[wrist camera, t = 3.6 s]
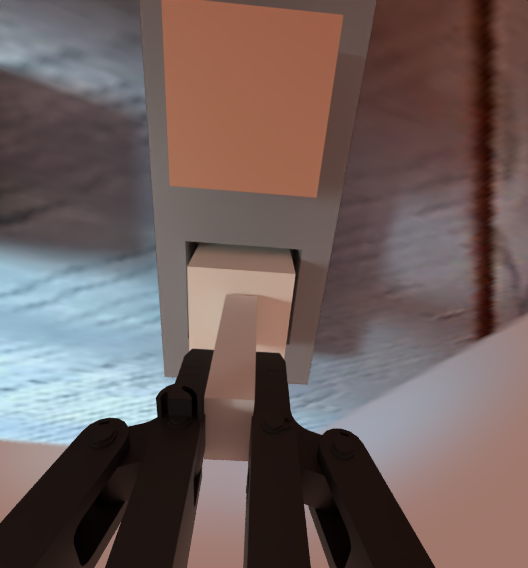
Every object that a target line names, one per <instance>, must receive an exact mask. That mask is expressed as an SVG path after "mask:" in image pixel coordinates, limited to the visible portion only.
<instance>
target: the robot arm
mask: <svg viewBox="0 0 528 568" xmlns="http://www.w3.org/2000/svg"><path fill="white" fill-rule="evenodd" d="M256 328H257V296H246V295H231V294H226V297H225V301H224V306H223V311H222V316H221V320H220V325H219V330H218V334H217V339H216V344H215V349H214V350H209V349H191V350H190V351H189V352H188V353H187V354H186V355H185V356H184V358H183V361H182V364H181V368H180V370H179V373H178V376H177V379H176V382H175V384H172V385H170V386H167V387H165V388H164V389H163V390H161V391H160V392H159V394H158V395H157V397H156V403H157V415H158V417H157V418H155V419H153V420H151V421H149V422H146V423H143V424H138V425H134V426H129V427H128V426H127V425H126V423H125V422H124V421H122V420H120V419H118V418H105V419H101V420H98V421H96V422H94V423H92V424H90V425H89V426H88V427H87V428H85V429H84V430H83V431H82V432H81V433H80V434H79V435H78V437H77V438H76V439H75V440H74V441H73V442H72V443H71V444H70V446H69V447H68V448H67V449H66V450H65V451H64V452H63V454H62V455H61V456H60V457H59V458H58V459H57V460H56V461H55V462H54V463H53V465H52V466H51V467H50V468H49V469H48V470H47V471H46V472H45V474H44V475H43V476H42V477H41V478H40V479H39V480H38V482H37V483H36V484H35V485H34V486H33V487H32V488H31V490H29V491H28V493H27V494H26V495H25V496H24V497H23V498H22V499H21V501H20V502H19V503H18V504H17V505H16V506H15V507H14V508H13V509H12V511H11V512H10V513H9V514H8V515H7V516H6V517H5V518H4V520H3V521H2V522H1V523H0V568H94V567H95V565H96V564H97V562H98V560H99V559H100V557H101V555H102V553H103V552H104V550H105V548H106V547H107V545H108V543H109V542H110V540H111V538H112V536H113V535H114V533H115V531H116V530H117V528H118V526H119V524H120V522H121V524H120V527H119V530H118V532H117V535H116V538H115V541H114V544H113V547H112V550H111V552H110V555H109V558H108V561H107V564H106V567H105V568H187V563H188V556H189V551H190V545H191V538H192V533H193V527H194V521H195V515H196V509H197V502H198V497H199V491H200V485H201V479H202V463H203V457H204V459H213V460H234V461H248V475H247V486H246V493H247V495H246V518H245V541H244V542H245V543H244V564H243V568H311V565H310V556H309V547H308V538H307V528H306V519H305V510H304V504H306V505H308V506H309V510H310V513H311V515H312V518H313V521H314V524H315V527H316V529H317V533H318V536H319V538H320V541H321V544H322V547H323V550H324V553H325V555H326V559H327V561H328V564H329V567H330V568H435V566H434V564H433V563H432V561H431V559H430V558H429V556H428V554H427V553H426V551H425V549H424V547H423V546H422V544H421V542H420V540H419V539H418V537H417V535H416V534H415V532H414V530H413V529H412V527H411V525H410V523H409V522H408V520H407V518H406V517H405V515H404V513H403V511H402V510H401V508H400V506H399V504H398V503H397V501H396V499H395V498H394V496H393V494H392V493H391V491H390V489H389V487H388V485H387V484H386V482H385V480H384V479H383V477H382V475H381V473H380V472H379V470H378V468H377V467H376V465H375V463H374V462H373V460H372V458H371V456H370V455H369V453H368V451H367V449H366V448H365V446H364V444H363V443H362V442H361V441H360V439H359V438H358V437H357V436H356V435H354V434H353V433H351V432H350V431H347V430H344V429H330V430H328V431H326V432H325V433H324V434H323V435H320V434H317V433H314V432H311V431H309V430H307V429H305V428H303V427H302V426H300V425H299V424H298V423H297V422H296V421H295V420H294V418H293V416H292V414H291V410H290V400H289V391H288V381H287V373H286V372H287V371H286V362H285V360H284V359H283V357H282V356H281V354H280V353H272V352H256Z"/></svg>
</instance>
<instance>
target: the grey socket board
mask: <svg viewBox="0 0 528 568" xmlns="http://www.w3.org/2000/svg"><path fill="white" fill-rule="evenodd" d="M205 1H215V2H224V3H234V4H243V5H253V6H263V7H272V8H282V9H291V10H301V11H311V12H320V13H330V14H339V15H343V22H342V29H341V35H340V42H339V49H338V56H337V62H336V69H335V76H334V83H333V89H332V96H331V103H330V110H329V117H328V123H327V130H326V137H325V144H324V150H323V157H322V164H321V171H320V177H319V184H318V191H317V198H315V197H303V196H290V195H278V194H265V193H253V192H240V191H228V190H215V189H203V188H190V187H178V186H170V182H169V159H168V137H167V115H166V93H165V70H164V48H163V26H162V4H161V0H139V7H140V22H141V36H142V51H143V65H144V80H145V95H146V109H147V124H148V139H149V153H150V168H151V183H152V197H153V212H154V226H155V241H156V256H157V270H158V285H159V300H160V314H161V329H162V344H163V358H164V373H165V377H177V376H178V373H179V370H180V368H181V364H182V361H183V358H184V356H185V355H186V354H187V353H188V352H189V316H188V276H187V266H188V264H189V262H190V260H191V258H192V256H193V255H194V253H195V251H196V249H197V247H198V245H199V243H200V242H204V243H218V244H232V245H245V246H259V247H273V248H286V249H290V252H291V257H292V261H293V265H294V270H295V282H294V289H293V297H292V304H291V312H290V319H289V326H288V334H287V341H286V349H285V356H284V360H285V362H286V371H287V372H286V373H287V381H288V384H306V385H307V384H308V379H309V373H310V368H311V362H312V356H313V351H314V345H315V340H316V334H317V329H318V323H319V318H320V312H321V307H322V301H323V296H324V290H325V284H326V279H327V273H328V268H329V262H330V257H331V251H332V246H333V240H334V235H335V229H336V223H337V218H338V212H339V207H340V201H341V196H342V190H343V185H344V179H345V174H346V168H347V163H348V157H349V151H350V146H351V140H352V135H353V129H354V124H355V118H356V113H357V107H358V102H359V96H360V90H361V85H362V79H363V74H364V68H365V63H366V57H367V52H368V46H369V41H370V35H371V30H372V24H373V18H374V13H375V7H376V2H377V0H205Z"/></svg>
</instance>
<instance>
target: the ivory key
mask: <svg viewBox="0 0 528 568" xmlns="http://www.w3.org/2000/svg"><path fill="white" fill-rule="evenodd" d="M187 276H188V316H189V351H190V350H191V349H209V350H214V349H215V344H216V339H217V334H218V330H219V325H220V320H221V316H222V311H223V306H224V301H225V297H226V294H231V295H246V296H257V328H256V352H272V353H280V354H281V356H282V357H283V359H284V356H285V349H286V341H287V334H288V326H289V319H290V312H291V304H292V297H293V289H294V282H295V270H294V265H293V261H292V257H291V252H290V249H286V248H273V247H259V246H245V245H232V244H218V243H204V242H200V243H199V245H198V247H197V249H196V251H195V253H194V255H193V256H192V258H191V260H190V262H189V264H188V266H187Z"/></svg>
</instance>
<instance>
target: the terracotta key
mask: <svg viewBox="0 0 528 568" xmlns="http://www.w3.org/2000/svg"><path fill="white" fill-rule="evenodd" d="M161 4H162V26H163V48H164V70H165V93H166V115H167V137H168V159H169V182H170V186H178V187H190V188H203V189H215V190H228V191H240V192H253V193H265V194H278V195H290V196H303V197H315V198H317V191H318V184H319V177H320V171H321V164H322V157H323V150H324V144H325V137H326V130H327V123H328V117H329V110H330V103H331V96H332V89H333V83H334V76H335V69H336V62H337V56H338V49H339V42H340V35H341V29H342V22H343V15H339V14H330V13H320V12H311V11H301V10H291V9H282V8H272V7H263V6H253V5H243V4H234V3H224V2H215V1H205V0H161Z"/></svg>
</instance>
